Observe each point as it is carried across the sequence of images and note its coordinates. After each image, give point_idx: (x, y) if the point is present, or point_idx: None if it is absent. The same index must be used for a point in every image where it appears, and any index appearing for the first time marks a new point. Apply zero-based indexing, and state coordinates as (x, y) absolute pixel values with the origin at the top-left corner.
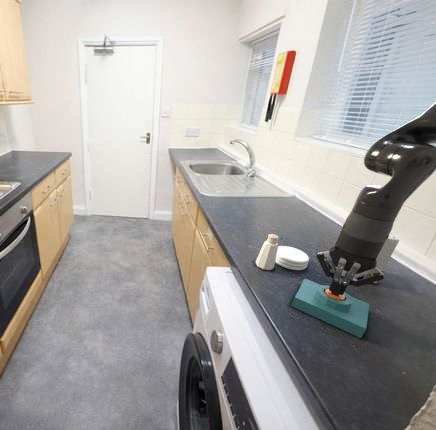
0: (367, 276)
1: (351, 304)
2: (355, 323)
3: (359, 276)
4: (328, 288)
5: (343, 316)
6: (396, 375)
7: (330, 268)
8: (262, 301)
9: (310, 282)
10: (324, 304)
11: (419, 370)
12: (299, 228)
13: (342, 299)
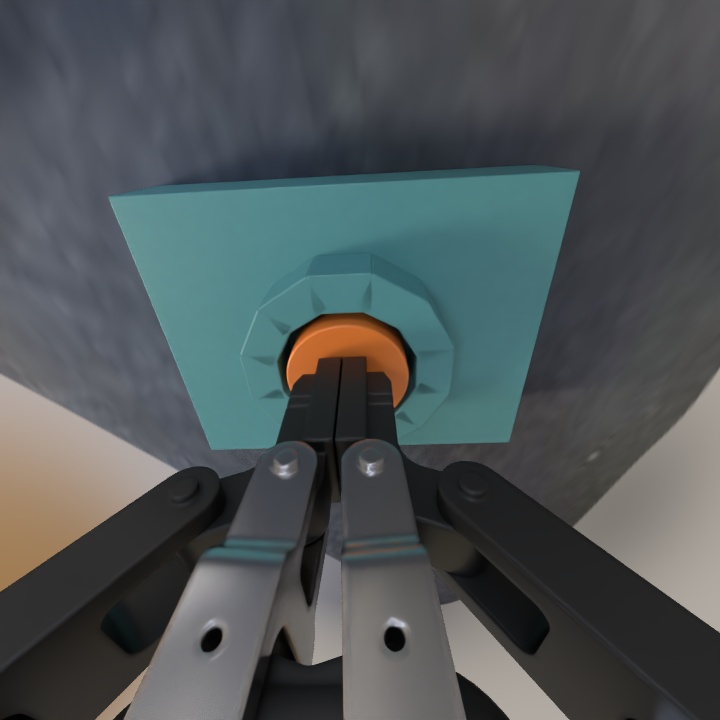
0: (592, 702)
1: (454, 296)
2: (467, 440)
3: (498, 555)
4: (295, 352)
5: (419, 432)
6: (567, 476)
7: (169, 543)
8: (152, 455)
9: (169, 228)
10: None
11: (654, 417)
12: None
13: (396, 403)
